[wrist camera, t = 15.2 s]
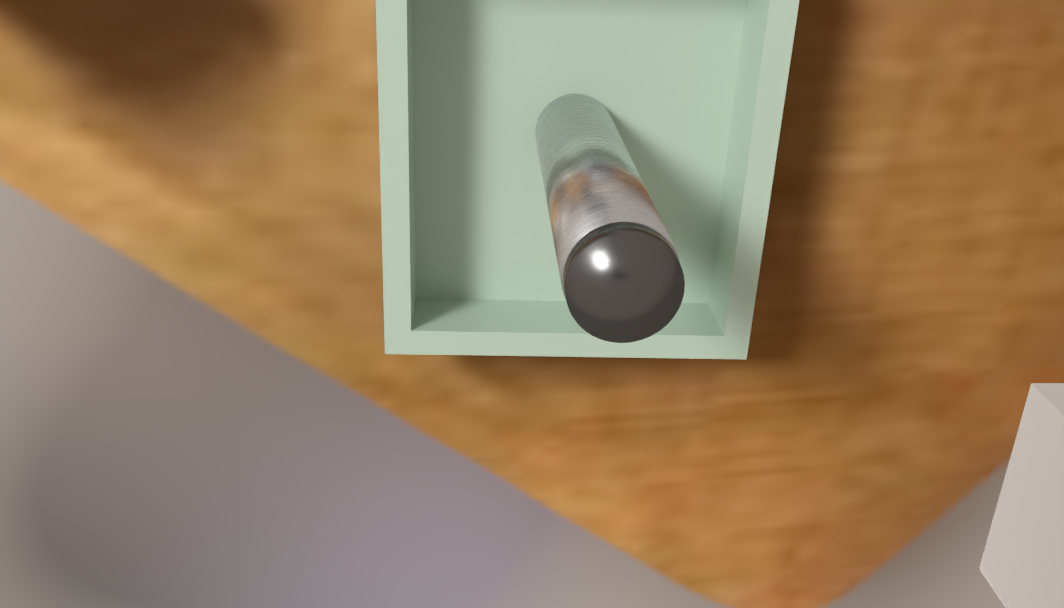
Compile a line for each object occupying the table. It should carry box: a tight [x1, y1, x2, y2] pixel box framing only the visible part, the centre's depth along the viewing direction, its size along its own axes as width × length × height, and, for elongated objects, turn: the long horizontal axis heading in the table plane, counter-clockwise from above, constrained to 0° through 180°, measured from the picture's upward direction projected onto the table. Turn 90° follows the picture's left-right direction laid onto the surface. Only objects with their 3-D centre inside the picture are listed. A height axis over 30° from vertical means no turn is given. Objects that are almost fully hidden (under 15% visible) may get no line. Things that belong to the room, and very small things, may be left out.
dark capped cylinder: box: [535, 94, 685, 343], centre depth 30 cm, size 3×3×15 cm
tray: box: [376, 0, 799, 359], centre depth 36 cm, size 16×14×4 cm
